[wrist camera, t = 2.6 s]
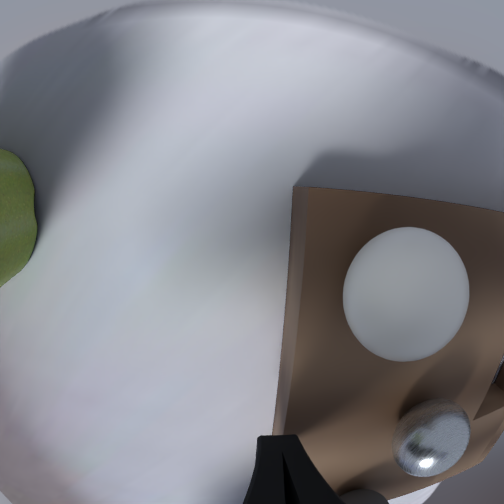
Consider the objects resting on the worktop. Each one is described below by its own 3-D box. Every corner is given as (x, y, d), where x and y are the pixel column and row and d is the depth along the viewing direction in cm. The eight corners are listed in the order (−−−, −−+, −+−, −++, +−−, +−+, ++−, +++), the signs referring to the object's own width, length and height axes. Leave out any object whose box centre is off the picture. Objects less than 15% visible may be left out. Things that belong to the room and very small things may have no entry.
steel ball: (430, 430, 11) (461, 476, 7) (371, 446, 11) (396, 501, 7) (456, 376, 10) (498, 420, 7) (393, 390, 10) (432, 449, 6)
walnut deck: (469, 443, 15) (482, 461, 13) (264, 490, 14) (267, 520, 12) (546, 222, 11) (573, 229, 9) (292, 186, 10) (308, 187, 8)
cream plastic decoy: (413, 322, 9) (470, 375, 6) (320, 328, 9) (358, 398, 6) (430, 222, 8) (506, 244, 5) (332, 215, 8) (391, 236, 5)
